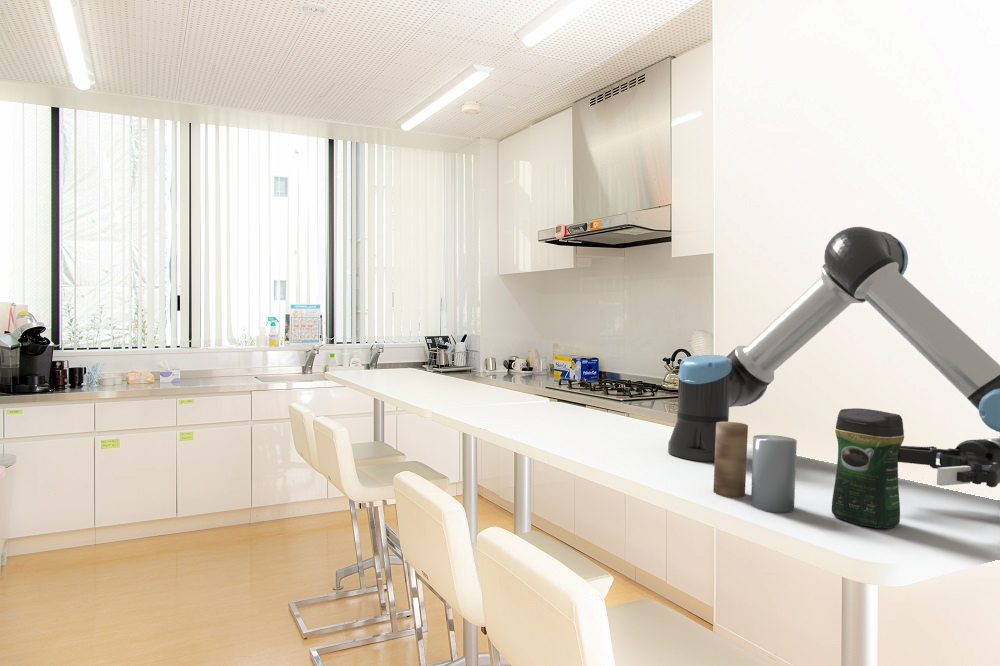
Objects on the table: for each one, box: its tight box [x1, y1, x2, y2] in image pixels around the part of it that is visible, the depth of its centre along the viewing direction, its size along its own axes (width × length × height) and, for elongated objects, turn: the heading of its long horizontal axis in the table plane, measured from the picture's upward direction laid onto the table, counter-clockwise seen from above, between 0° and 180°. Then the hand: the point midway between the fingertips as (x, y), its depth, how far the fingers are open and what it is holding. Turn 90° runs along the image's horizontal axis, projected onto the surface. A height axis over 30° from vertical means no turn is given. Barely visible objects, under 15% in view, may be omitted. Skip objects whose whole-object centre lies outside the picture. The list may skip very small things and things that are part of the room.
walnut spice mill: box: [712, 421, 749, 498], centre depth 122 cm, size 6×6×13 cm
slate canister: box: [750, 434, 798, 514], centre depth 114 cm, size 7×7×12 cm
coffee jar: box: [831, 407, 905, 530], centre depth 108 cm, size 10×8×19 cm
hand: (900, 466), depth 110 cm, fingers open, 13 cm apart
